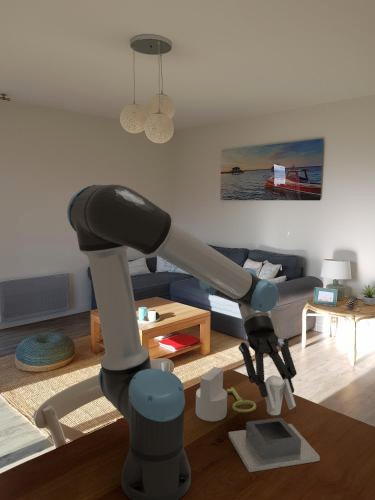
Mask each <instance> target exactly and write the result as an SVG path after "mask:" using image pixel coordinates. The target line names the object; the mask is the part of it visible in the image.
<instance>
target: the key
mask: <svg viewBox="0 0 375 500" xmlns="http://www.w3.org/2000/svg"><path fill="white" fill-rule="evenodd" d="M225 391H226V392H227V393H232V394H233V396H234V397H235V399H236V401H234V403H232V407H231V408H232V410H233V411H235V412H237V413H249V412H253V411H255V410H256V409H257V404H256V403H255V402H254V401H253V400H247V399H243V397H241V396H240V395H239V393H238V392H237V390H236V389H235V388H234V387H232V386H231V387H230V388H227V389H225ZM241 405H242V406H243V405H249V406H250V405H251V406H252V407H250V408H248V409H245V408H244V409H242V408H238V406H241Z"/></svg>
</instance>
